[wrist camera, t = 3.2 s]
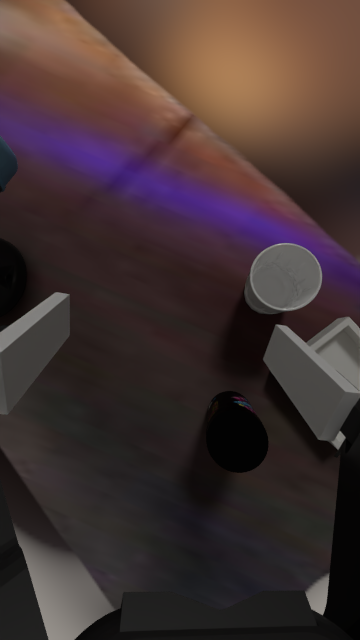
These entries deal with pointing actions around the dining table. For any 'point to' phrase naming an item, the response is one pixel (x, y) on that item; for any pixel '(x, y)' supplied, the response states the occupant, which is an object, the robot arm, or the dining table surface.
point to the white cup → (282, 279)
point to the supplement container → (235, 433)
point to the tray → (340, 353)
